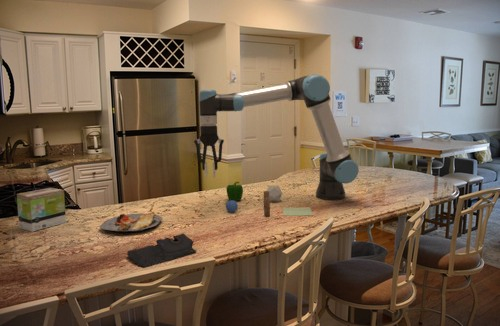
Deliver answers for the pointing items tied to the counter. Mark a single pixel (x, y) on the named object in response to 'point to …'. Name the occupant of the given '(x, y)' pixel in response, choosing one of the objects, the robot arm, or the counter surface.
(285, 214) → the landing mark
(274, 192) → the die
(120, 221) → the food plate
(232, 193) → the bell pepper
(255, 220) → the counter surface
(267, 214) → the gate post
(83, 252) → the counter surface
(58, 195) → the tea box
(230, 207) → the ball
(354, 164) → the robot arm
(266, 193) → the gate post
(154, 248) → the stepped dark grey slab
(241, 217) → the counter surface
